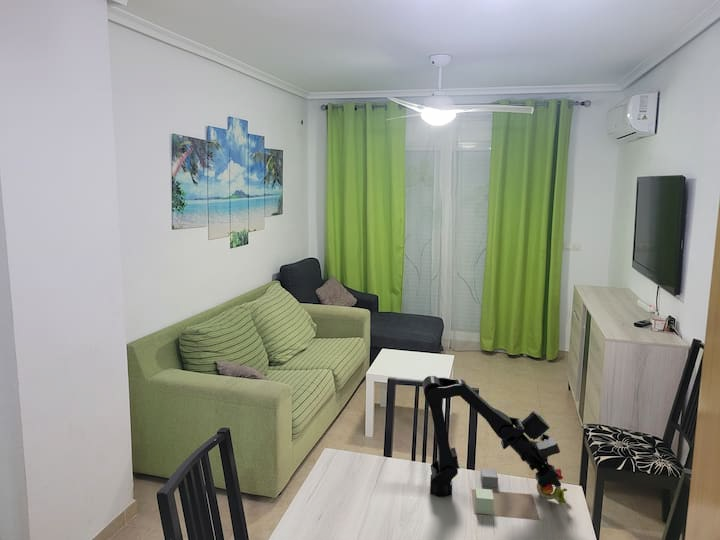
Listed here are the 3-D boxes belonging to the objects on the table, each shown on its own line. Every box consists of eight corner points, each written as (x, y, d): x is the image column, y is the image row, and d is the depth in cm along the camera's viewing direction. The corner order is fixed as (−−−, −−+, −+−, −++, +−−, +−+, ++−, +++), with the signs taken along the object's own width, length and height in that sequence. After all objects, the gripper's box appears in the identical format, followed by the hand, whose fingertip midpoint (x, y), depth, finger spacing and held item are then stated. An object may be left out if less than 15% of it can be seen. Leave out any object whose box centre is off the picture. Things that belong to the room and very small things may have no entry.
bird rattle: (545, 511, 170) (574, 504, 168) (532, 481, 169) (561, 473, 167) (542, 499, 176) (569, 491, 174) (529, 470, 175) (557, 461, 173)
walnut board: (473, 518, 163) (474, 513, 163) (471, 493, 176) (471, 489, 176) (539, 524, 161) (540, 519, 161) (531, 498, 173) (532, 494, 173)
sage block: (475, 513, 163) (476, 497, 162) (474, 503, 168) (475, 488, 167) (492, 514, 163) (493, 499, 162) (491, 504, 168) (492, 489, 167)
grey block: (481, 490, 178) (482, 476, 177) (480, 481, 183) (481, 468, 182) (497, 491, 177) (498, 477, 176) (495, 483, 182) (496, 469, 181)
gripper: (553, 446, 160) (588, 482, 161) (536, 417, 178) (567, 450, 179) (524, 470, 161) (559, 505, 163) (510, 439, 180) (541, 471, 181)
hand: (557, 481), depth 171 cm, fingers open, 4 cm apart
